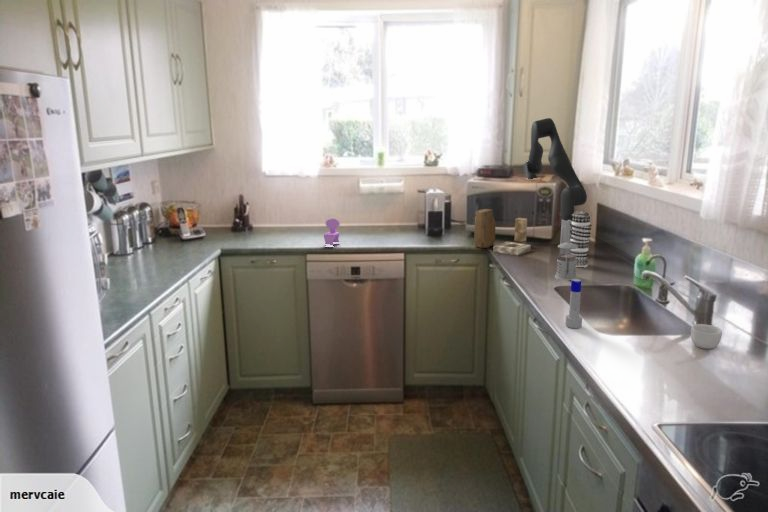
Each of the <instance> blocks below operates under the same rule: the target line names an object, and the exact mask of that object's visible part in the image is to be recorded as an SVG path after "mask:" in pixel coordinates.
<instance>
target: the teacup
mask: <svg viewBox="0 0 768 512" xmlns="http://www.w3.org/2000/svg"><path fill="white" fill-rule="evenodd" d="M722 336H723V330H722V329H721V328H719V327H718V326H714V325H711V324H705V323H704V324H703V323H699V324H697V323H696V324H693V325H692V326H691V328H690V338H691V341H692V343H693V344H694V346H696V347H698V348H701V349H703V350H712V349H714V348H717V347H718V346H719V344H720V343H721V341H722Z"/></svg>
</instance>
